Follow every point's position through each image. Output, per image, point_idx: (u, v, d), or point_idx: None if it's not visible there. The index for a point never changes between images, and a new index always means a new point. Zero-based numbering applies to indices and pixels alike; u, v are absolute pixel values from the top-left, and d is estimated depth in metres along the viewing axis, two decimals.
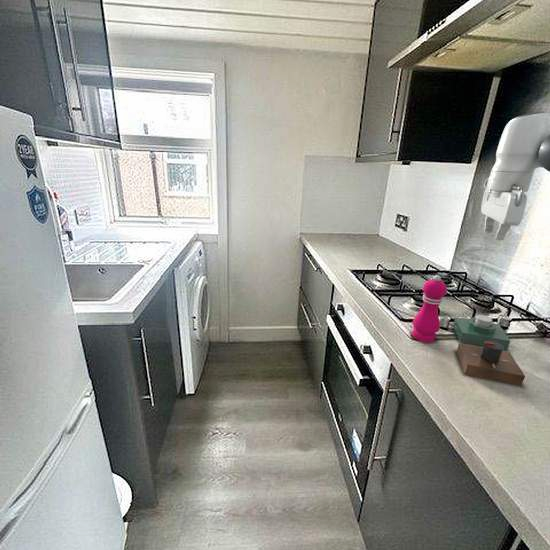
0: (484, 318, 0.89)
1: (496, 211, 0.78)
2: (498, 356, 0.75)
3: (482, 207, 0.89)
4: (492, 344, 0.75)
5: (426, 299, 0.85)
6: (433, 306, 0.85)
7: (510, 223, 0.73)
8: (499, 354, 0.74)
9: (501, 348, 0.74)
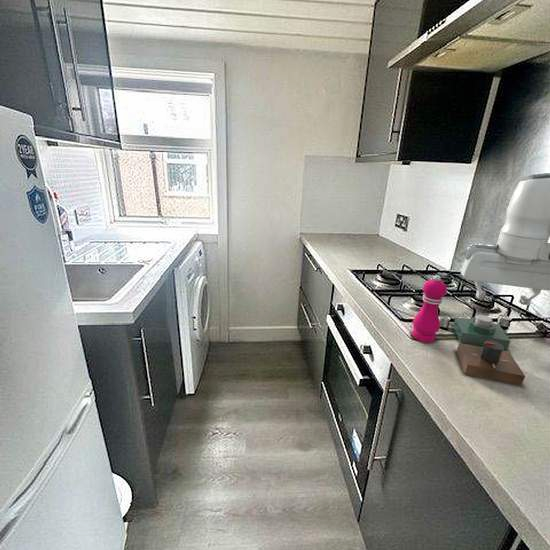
0: (484, 318, 0.89)
1: None
2: (498, 356, 0.75)
3: None
4: (492, 344, 0.75)
5: (426, 299, 0.85)
6: (433, 306, 0.85)
7: None
8: (499, 354, 0.74)
9: (501, 348, 0.74)
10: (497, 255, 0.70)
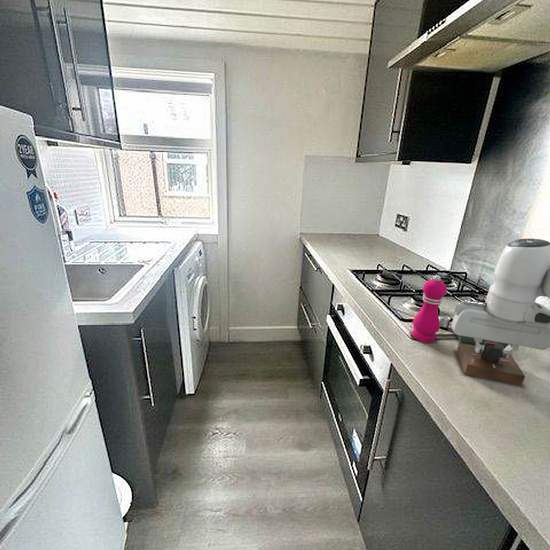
0: None
1: None
2: (498, 356, 0.75)
3: None
4: (492, 344, 0.75)
5: (426, 299, 0.85)
6: (433, 306, 0.85)
7: (452, 328, 0.78)
8: (499, 354, 0.74)
9: (501, 348, 0.74)
10: (485, 313, 0.72)
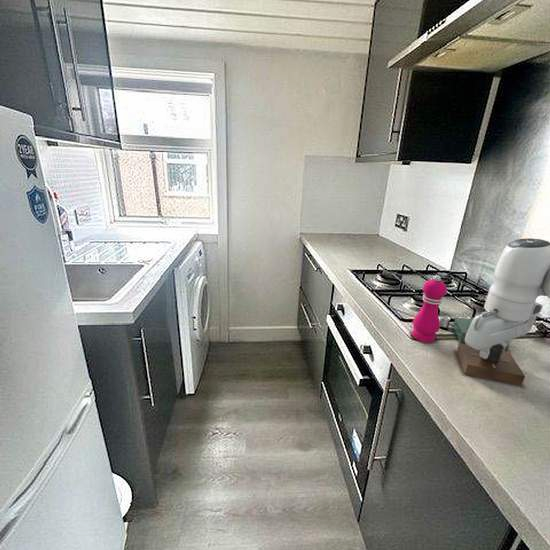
0: None
1: None
2: None
3: None
4: (494, 345, 0.75)
5: (426, 299, 0.85)
6: (433, 306, 0.85)
7: (469, 344, 0.71)
8: (501, 352, 0.75)
9: (502, 346, 0.75)
10: (500, 320, 0.69)
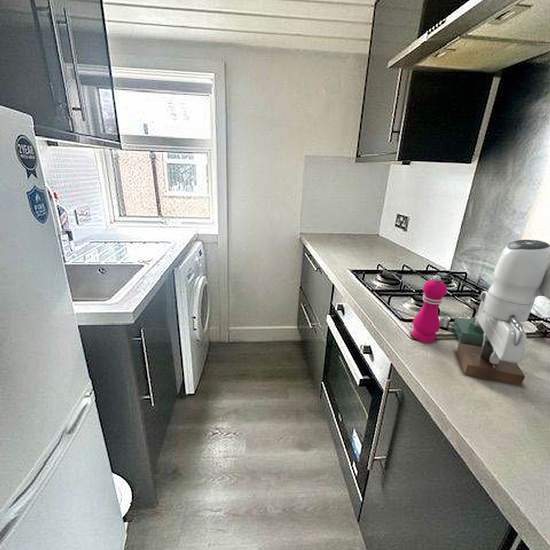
0: None
1: (493, 337, 0.72)
2: None
3: (478, 316, 0.83)
4: None
5: (426, 299, 0.85)
6: (433, 306, 0.85)
7: (508, 361, 0.66)
8: None
9: None
10: None
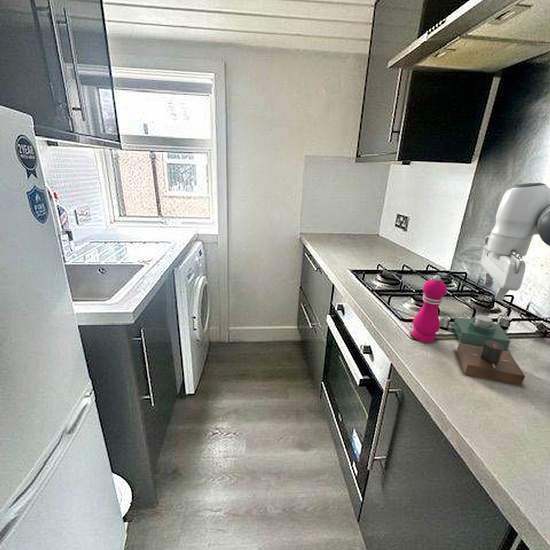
0: (484, 318, 0.89)
1: (496, 272, 0.81)
2: None
3: (482, 261, 0.92)
4: (496, 345, 0.75)
5: (426, 299, 0.85)
6: (433, 306, 0.85)
7: (509, 288, 0.75)
8: None
9: (498, 343, 0.76)
10: None
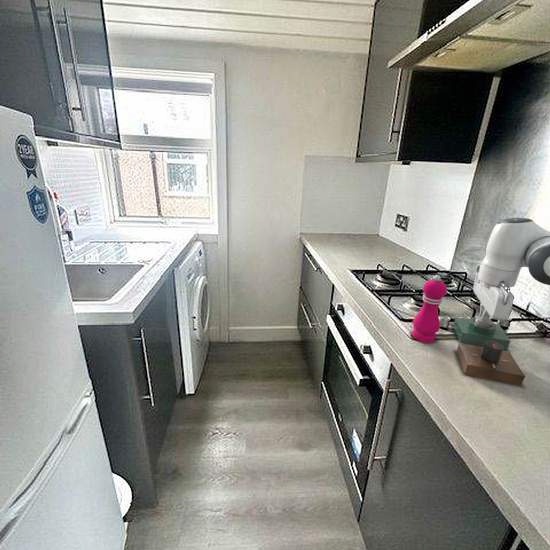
0: None
1: (486, 301, 0.85)
2: None
3: (474, 287, 0.95)
4: (496, 345, 0.75)
5: (426, 299, 0.85)
6: (433, 306, 0.85)
7: (498, 318, 0.79)
8: None
9: (498, 343, 0.76)
10: None
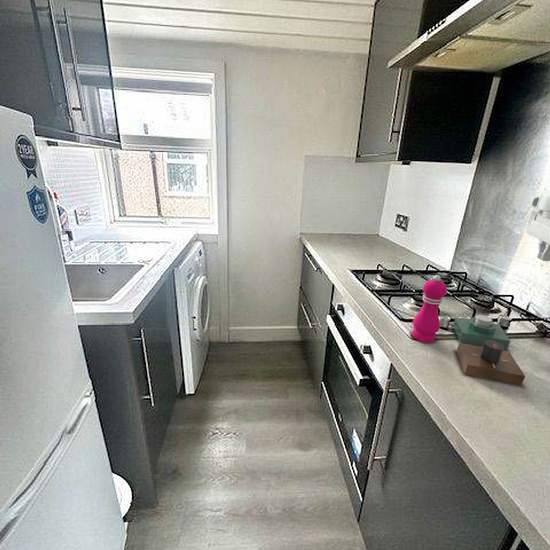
0: (484, 318, 0.89)
1: None
2: None
3: (528, 227, 0.82)
4: (496, 345, 0.75)
5: (426, 299, 0.85)
6: (433, 306, 0.85)
7: None
8: None
9: (498, 343, 0.76)
10: None
